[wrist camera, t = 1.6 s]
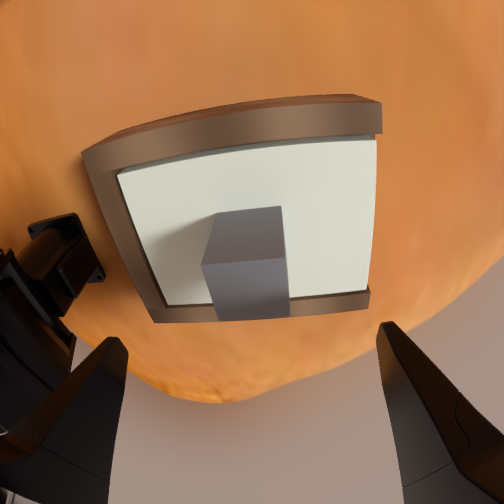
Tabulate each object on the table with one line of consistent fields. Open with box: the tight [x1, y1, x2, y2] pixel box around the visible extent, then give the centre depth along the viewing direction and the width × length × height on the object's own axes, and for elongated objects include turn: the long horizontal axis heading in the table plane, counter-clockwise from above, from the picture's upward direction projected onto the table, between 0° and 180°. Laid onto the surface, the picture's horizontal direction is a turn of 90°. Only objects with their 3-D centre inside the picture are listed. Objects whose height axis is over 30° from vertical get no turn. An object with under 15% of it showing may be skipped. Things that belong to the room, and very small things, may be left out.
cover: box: [117, 135, 376, 321], centre depth 13 cm, size 12×9×5 cm
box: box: [81, 94, 382, 323], centre depth 16 cm, size 14×12×4 cm
